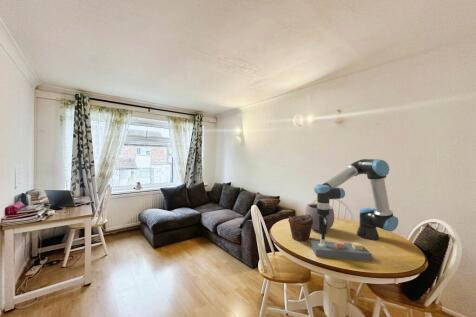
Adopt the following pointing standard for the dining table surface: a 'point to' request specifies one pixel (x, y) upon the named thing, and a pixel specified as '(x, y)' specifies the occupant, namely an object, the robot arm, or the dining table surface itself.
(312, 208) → the plant pot
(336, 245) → the terracotta button
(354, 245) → the ochre button
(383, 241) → the dining table surface
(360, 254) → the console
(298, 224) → the brown tapered container
